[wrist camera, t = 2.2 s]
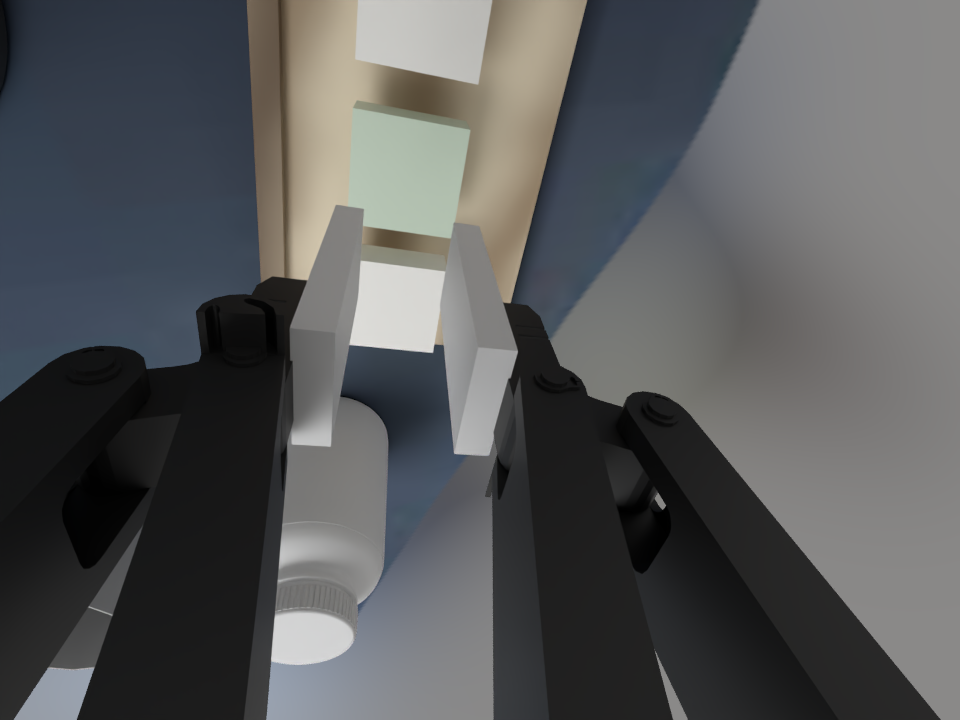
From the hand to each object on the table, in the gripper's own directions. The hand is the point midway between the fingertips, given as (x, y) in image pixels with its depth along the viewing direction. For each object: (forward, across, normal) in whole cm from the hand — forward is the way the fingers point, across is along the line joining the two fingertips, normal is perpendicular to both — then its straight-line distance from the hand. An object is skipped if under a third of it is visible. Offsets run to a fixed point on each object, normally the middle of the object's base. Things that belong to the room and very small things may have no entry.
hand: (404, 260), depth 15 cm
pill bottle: (+15, -3, -21) cm, 26 cm away
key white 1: (+11, 0, -6) cm, 13 cm away
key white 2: (+11, 0, +7) cm, 13 cm away
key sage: (+11, 0, 0) cm, 11 cm away
